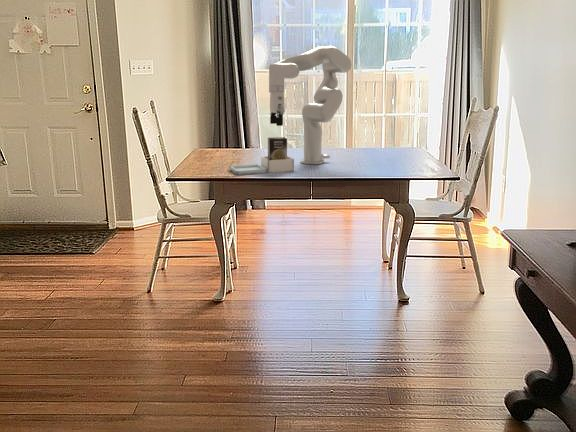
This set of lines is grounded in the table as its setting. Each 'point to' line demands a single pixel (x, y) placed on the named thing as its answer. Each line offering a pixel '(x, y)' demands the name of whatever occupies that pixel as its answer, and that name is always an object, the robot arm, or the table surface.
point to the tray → (247, 169)
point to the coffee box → (277, 148)
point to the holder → (277, 164)
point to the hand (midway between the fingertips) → (276, 124)
